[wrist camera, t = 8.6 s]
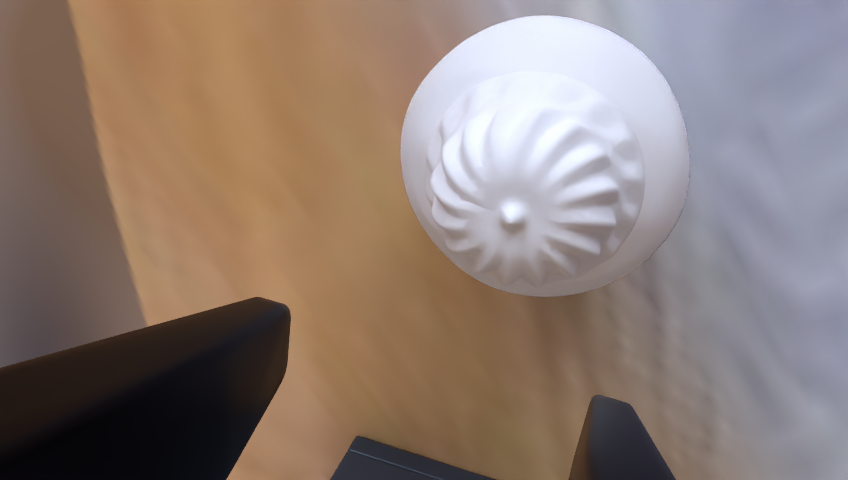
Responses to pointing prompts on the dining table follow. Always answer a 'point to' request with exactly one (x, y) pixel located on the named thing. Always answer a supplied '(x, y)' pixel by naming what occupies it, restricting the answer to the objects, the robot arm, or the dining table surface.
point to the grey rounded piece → (545, 156)
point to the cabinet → (394, 465)
